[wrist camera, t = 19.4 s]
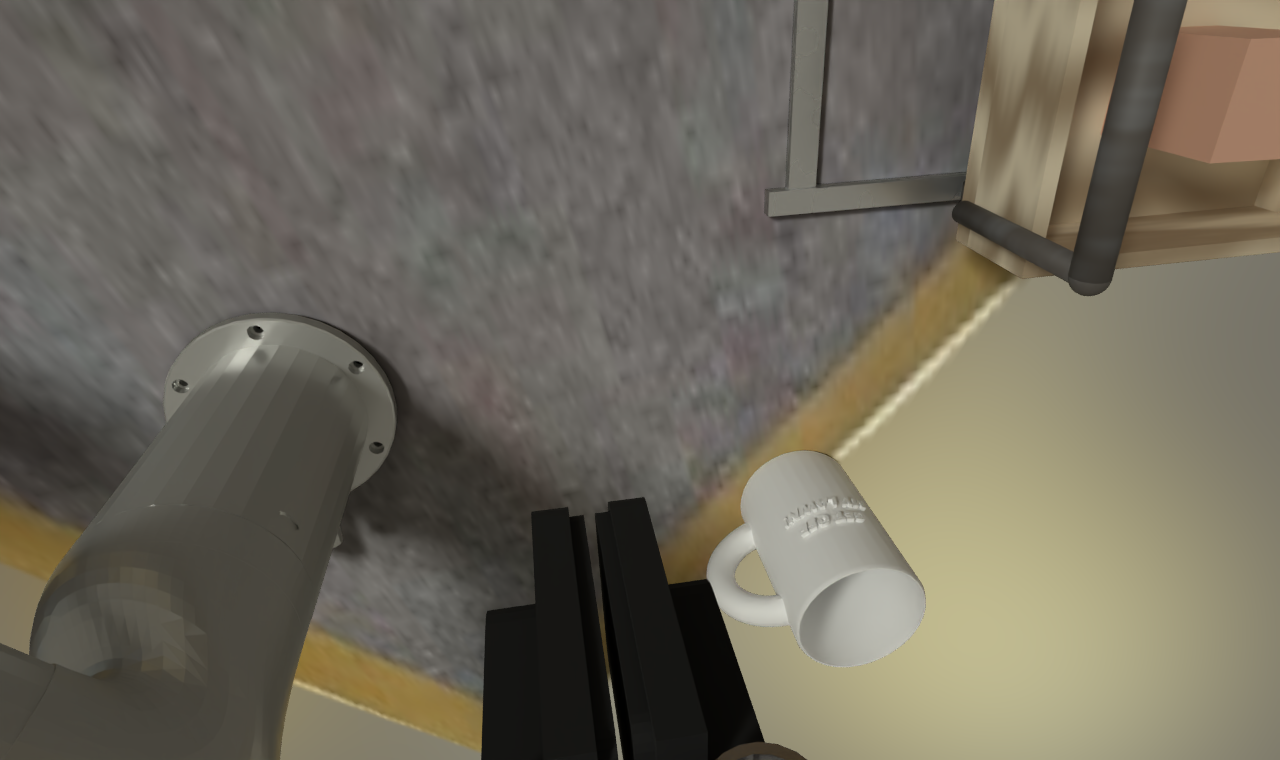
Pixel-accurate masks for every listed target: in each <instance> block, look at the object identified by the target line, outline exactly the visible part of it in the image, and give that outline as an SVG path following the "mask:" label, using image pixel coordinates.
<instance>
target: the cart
mask: <svg viewBox="0 0 1280 760" xmlns="http://www.w3.org/2000/svg"><path fill="white" fill-rule="evenodd" d="M1217 25H1219V26H1234V27H1249V28H1264V29H1279V30H1280V0H995V1H994V7H993V13H992V19H991V26H990V32H989V38H988V44H987V50H986V56H985V63H984V69H983V75H982V81H981V87H980V94H979V100H978V106H977V112H976V118H975V124H974V131H973V137H972V143H971V149H970V155H969V162H968V168H967V174H966V180H965V181H964V182H963V186H962V193H961V199H960V202H959V203H958V204H957V205H956V206H955V207H954V209H953V211H952V217H953V219H954V221H956V222H957V223H958V230H957V236H956V241H958V242H960V243H962V244H963V245H965V246H967V247H968V248H970V249H972V250H974V251H975V252H977V253H979V254H980V255H982V256H984V257H986V258H987V259H989V260H991V261H992V262H994V263H996V264H998V265H999V266H1001V267H1003V268H1004V269H1006V270H1008V271H1010V272H1011V273H1013V274H1015V275H1016V276H1018V277H1020V278H1021V279H1025V278H1034V277H1044V276H1053V275H1055V276H1057V277H1059V278H1061V279H1063V280H1064V281H1066V282H1068V283H1069V285H1070V287H1071V288H1072V290H1073V291H1075V292H1076V293H1078V294H1080V295H1083V296H1093V295H1097V294H1100V293H1102V292H1103V291H1105V290H1106V289H1107V288H1108V286H1109V285H1110V283H1111V281H1112V277H1113V274H1114V270H1115V269H1121V268H1131V267H1140V266H1150V265H1160V264H1169V263H1179V262H1189V261H1198V260H1208V259H1218V258H1227V257H1236V256H1246V255H1256V254H1266V253H1276V252H1280V159H1274V160H1258V161H1242V162H1226V163H1206V162H1202V161H1198V160H1195V159H1191V158H1187V157H1183V156H1179V155H1176V154H1172V153H1168V152H1164V151H1160V150H1157V149H1153V148H1149V147H1148V145H1149V141H1150V137H1151V134H1152V130H1153V126H1154V123H1155V119H1156V115H1157V111H1158V108H1159V104H1160V100H1161V97H1162V93H1163V89H1164V86H1165V82H1166V78H1167V75H1168V71H1169V67H1170V63H1171V60H1172V56H1173V52H1174V49H1175V45H1176V41H1177V38H1178V34H1179V30H1180V27H1190V26H1217ZM1119 60H1120V61H1119ZM1118 64H1119V65H1118ZM1117 68H1118V69H1117ZM1116 72H1117V73H1116ZM1115 76H1116V77H1115ZM1114 80H1115V82H1114ZM1113 84H1114V86H1113ZM1112 87H1113V90H1112ZM1111 91H1112V94H1111ZM1110 95H1111V98H1110ZM1109 99H1110V102H1109ZM1108 103H1109V106H1108ZM1107 107H1108V111H1107ZM1106 111H1107V115H1106ZM1105 115H1106V119H1105V123H1104V127H1103V131H1102V135H1100V134H1101V130H1102V126H1103V122H1104V118H1105Z"/></svg>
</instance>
